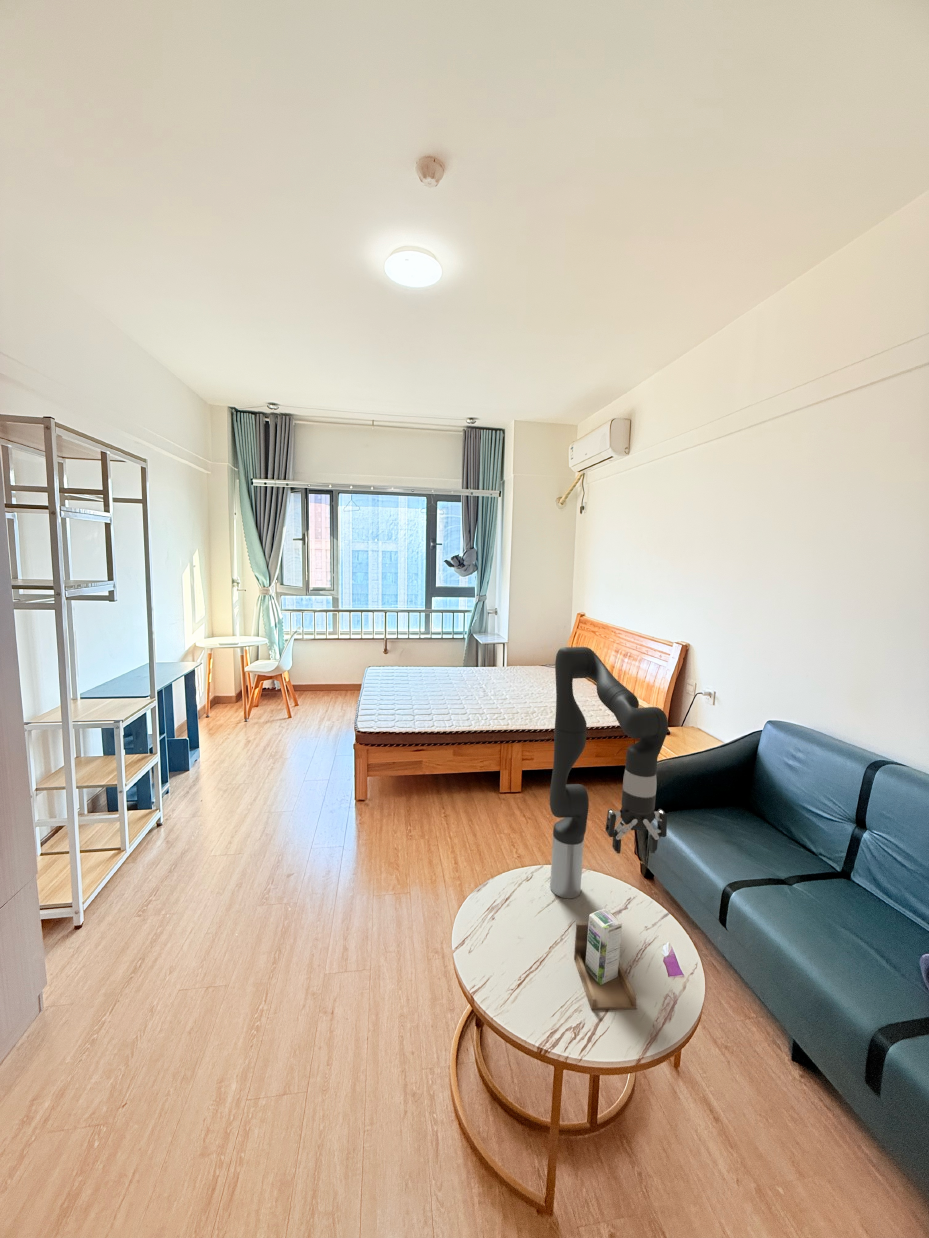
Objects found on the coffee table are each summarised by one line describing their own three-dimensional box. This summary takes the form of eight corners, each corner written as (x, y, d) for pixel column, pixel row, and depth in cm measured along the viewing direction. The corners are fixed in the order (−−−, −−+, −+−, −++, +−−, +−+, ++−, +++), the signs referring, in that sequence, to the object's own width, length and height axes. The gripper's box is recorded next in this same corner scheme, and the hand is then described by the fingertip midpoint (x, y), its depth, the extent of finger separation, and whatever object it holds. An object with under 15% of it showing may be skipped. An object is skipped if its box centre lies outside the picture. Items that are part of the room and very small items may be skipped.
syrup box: (583, 968, 120) (587, 913, 118) (602, 959, 123) (606, 906, 121) (600, 986, 115) (604, 930, 113) (618, 977, 118) (623, 922, 116)
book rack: (573, 958, 123) (576, 922, 122) (614, 958, 124) (616, 921, 123) (591, 1009, 109) (594, 968, 108) (636, 1008, 110) (639, 967, 109)
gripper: (660, 781, 121) (655, 842, 123) (604, 781, 120) (600, 842, 122) (675, 796, 114) (669, 860, 116) (615, 796, 113) (611, 861, 115)
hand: (634, 851), depth 119 cm, fingers open, 8 cm apart
